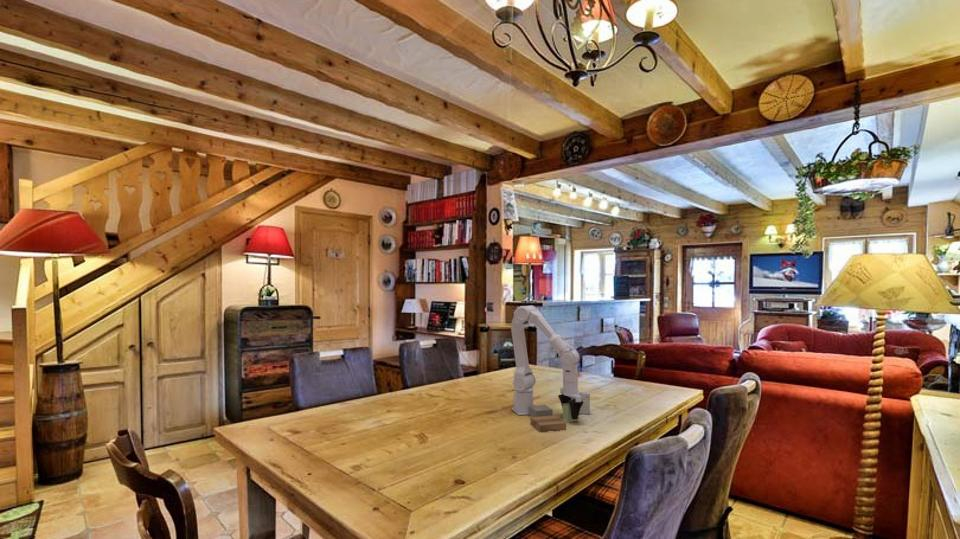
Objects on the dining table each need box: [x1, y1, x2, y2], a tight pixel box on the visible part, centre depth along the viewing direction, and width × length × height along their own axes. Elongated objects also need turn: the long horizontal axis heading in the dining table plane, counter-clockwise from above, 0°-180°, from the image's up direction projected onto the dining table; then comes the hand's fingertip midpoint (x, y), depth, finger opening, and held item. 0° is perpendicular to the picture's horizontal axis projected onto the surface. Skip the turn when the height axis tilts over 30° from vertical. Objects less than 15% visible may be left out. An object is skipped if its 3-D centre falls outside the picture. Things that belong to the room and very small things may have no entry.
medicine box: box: [571, 390, 591, 415], centre depth 181 cm, size 8×4×9 cm, turn 84°
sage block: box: [562, 403, 579, 423], centre depth 172 cm, size 4×4×6 cm
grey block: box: [528, 404, 554, 418], centre depth 175 cm, size 7×7×4 cm
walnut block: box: [530, 415, 567, 433], centre depth 163 cm, size 10×10×3 cm
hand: (570, 416), depth 172 cm, fingers open, 7 cm apart
